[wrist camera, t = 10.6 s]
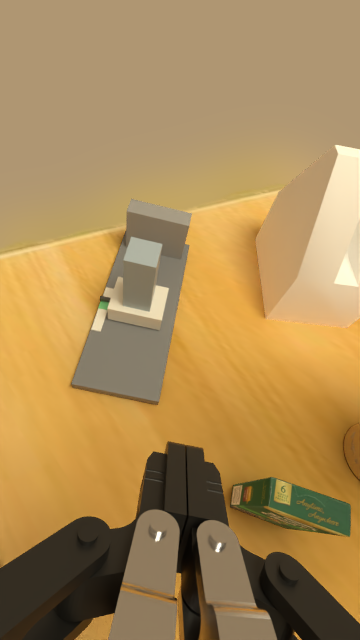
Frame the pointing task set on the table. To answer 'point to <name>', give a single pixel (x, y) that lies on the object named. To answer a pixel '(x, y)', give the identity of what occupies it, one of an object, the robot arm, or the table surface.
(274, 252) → the white house-shaped block
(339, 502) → the coffee box
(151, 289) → the gauge slider
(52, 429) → the table surface
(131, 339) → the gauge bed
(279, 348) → the table surface
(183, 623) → the robot arm
